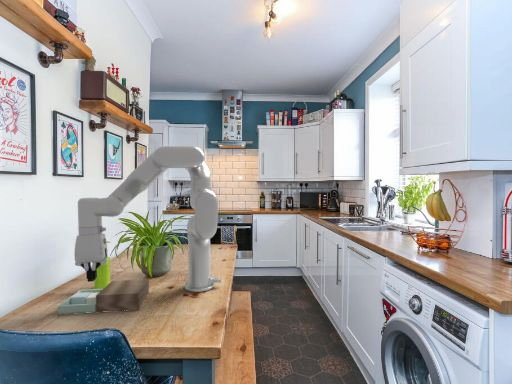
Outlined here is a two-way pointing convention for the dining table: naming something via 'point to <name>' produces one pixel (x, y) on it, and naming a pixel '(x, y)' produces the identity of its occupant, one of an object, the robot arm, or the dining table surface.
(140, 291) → the brown wooden block
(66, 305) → the box
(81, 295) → the pale blue square block
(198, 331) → the dining table surface
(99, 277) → the soap dispenser
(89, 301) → the cream square block
